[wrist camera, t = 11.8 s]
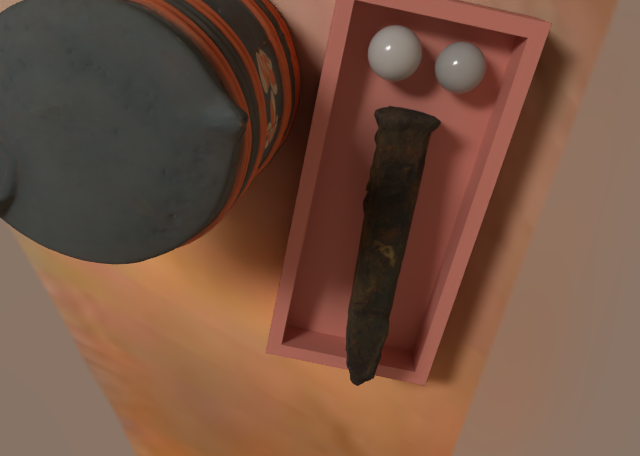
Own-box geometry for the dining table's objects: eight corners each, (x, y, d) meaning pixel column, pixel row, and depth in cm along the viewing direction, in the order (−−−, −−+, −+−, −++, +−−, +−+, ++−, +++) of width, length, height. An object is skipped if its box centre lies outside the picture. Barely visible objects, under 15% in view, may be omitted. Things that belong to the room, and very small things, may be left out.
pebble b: (440, 33, 36) (446, 40, 34) (488, 44, 36) (498, 51, 34) (426, 82, 38) (431, 92, 35) (472, 92, 38) (481, 103, 35)
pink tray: (342, -26, 36) (340, -24, 33) (535, 17, 36) (551, 23, 33) (272, 325, 47) (265, 352, 44) (420, 356, 47) (424, 385, 44)
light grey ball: (374, 17, 36) (375, 22, 33) (425, 28, 36) (431, 35, 33) (362, 70, 37) (362, 79, 35) (411, 81, 38) (416, 91, 35)
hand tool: (375, 99, 38) (378, 106, 34) (437, 112, 38) (448, 121, 34) (317, 357, 44) (313, 392, 39) (371, 368, 44) (373, 404, 39)
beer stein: (70, 209, 44) (-134, 388, 26) (-17, 1, 38) (-359, 45, 20) (322, 161, 41) (290, 325, 23) (269, -71, 35) (172, -96, 17)
